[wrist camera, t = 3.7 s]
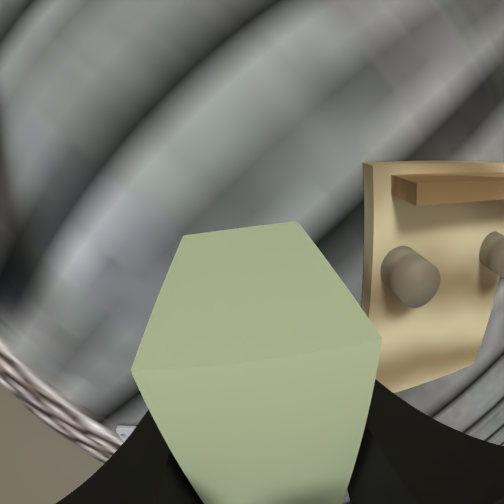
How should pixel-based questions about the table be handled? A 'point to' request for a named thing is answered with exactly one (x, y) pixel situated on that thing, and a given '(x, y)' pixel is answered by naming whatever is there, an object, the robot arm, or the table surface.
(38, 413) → the table surface
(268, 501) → the block
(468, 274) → the board
